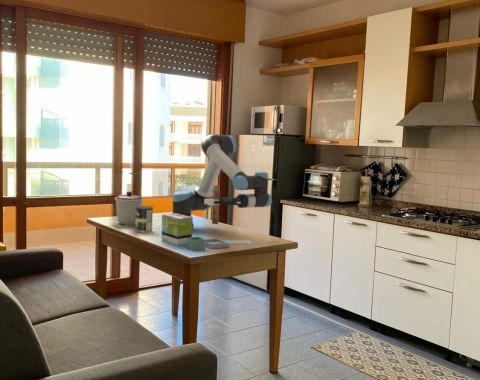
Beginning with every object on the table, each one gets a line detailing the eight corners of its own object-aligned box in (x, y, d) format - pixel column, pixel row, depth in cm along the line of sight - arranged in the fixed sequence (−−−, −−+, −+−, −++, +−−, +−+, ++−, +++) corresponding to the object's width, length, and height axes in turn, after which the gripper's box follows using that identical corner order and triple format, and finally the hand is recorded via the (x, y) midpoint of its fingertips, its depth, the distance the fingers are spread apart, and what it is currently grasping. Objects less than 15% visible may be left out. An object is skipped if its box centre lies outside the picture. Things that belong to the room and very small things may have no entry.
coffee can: (137, 232, 275) (138, 208, 274) (133, 229, 284) (133, 206, 283) (154, 231, 280) (155, 208, 278) (149, 228, 289) (150, 205, 288)
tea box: (160, 241, 255) (161, 214, 253) (175, 238, 262) (176, 212, 261) (177, 246, 244) (178, 218, 243) (192, 243, 251) (193, 216, 250)
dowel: (210, 223, 247) (212, 185, 245) (216, 222, 249) (217, 185, 247) (213, 224, 244) (214, 186, 242) (219, 223, 246) (220, 185, 244)
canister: (133, 220, 314) (133, 189, 312) (148, 224, 302) (149, 191, 300) (108, 222, 301) (109, 190, 299) (124, 227, 289) (124, 193, 287)
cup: (186, 248, 240) (186, 237, 240) (198, 247, 244) (199, 236, 243) (191, 251, 234) (192, 240, 234) (204, 250, 238) (205, 239, 237)
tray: (199, 244, 250) (199, 239, 250) (217, 243, 256) (218, 238, 255) (209, 249, 240) (209, 244, 240) (228, 247, 245) (228, 242, 245)
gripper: (252, 209, 248) (213, 211, 236) (237, 205, 262) (199, 207, 250) (253, 195, 247) (213, 196, 235) (238, 192, 261) (199, 193, 249)
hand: (206, 201), depth 243 cm, fingers closed on dowel, 3 cm apart
